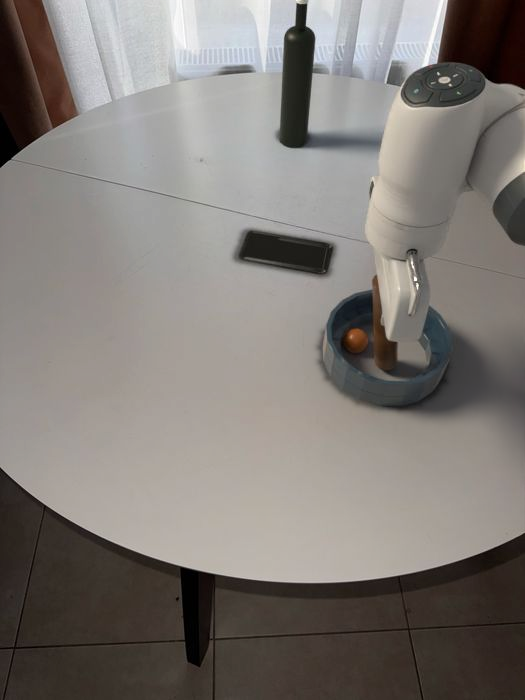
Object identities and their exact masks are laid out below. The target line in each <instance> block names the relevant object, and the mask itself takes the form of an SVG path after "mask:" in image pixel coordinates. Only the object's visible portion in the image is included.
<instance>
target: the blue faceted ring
mask: <svg viewBox="0 0 525 700" xmlns="http://www.w3.org/2000/svg"><path fill="white" fill-rule="evenodd" d="M368 324H373V294H372V289H367V290H362V291H359V292H354V293H353V294H351V295H348V296H347V297H345V298H343V299H341V300H340V301H339V302H338V304H336V306H335V307H334V308H333V309H332V310H331V311H330V313H329V317H328V319H327V321H326V323H325V330H324V335H323V336H324V337H323V342H322V360H323V364H324V367H325V368H326V371H327V372H328V374H329V377H330V378H331V379H332V380H333V381H334V382H335V383H336V384H337V386H338V387H340V388H341V390H342V391H344V392H345V393H347V394H349V395H350V396H352V397H354V398H356V399H358V400H359V401H362V402H365V403H369V404H373V405H376V406H381V407H401V406H405V405H409V404H413V403H417V402H419V401H421V400H423V399H424V398H425V397H427V396H429V395H430V394H431V393H433V391H434V390H435V389H436V387H437V386H438V385H439V383H440V382H441V379H442V378H443V375H444V373H445V371H446V368H447V367H448V364H449V362H450V360H451V356H452V351H453V343H454V342H453V338H452V334H451V331H450V327H449V325H448V324H447V322H446V320H444V318H443V316H442V315H441V314H440V313H439V312H438V311H437V310H436V309H434V308H433V307H432V306H431V305H430V304H429V307H428V312H427V316H426V320H425V323H424V327H423V331H422V334H421V337H420V339H419V340H417V341H418V342H419V344H420V346H421V347H422V349H423V350H424V353H425V359H426V367H425V368H424V370H423V371H422V372H421V373H420V374H418V375H416V376H415V377H413V378H412V379H408V380H386V379H382V378H379V377H375V376H372V375H368V374H366V373H364V372H362V371H361V370H359V369H358V368H355V367H354V366H353V365H351V364H350V363H349V362H348V361H347V360H346V357H345V355H344V353H343V351H342V345H341V344H342V343H341V342H342V341H343V339H344V335H345V334H346V333H347V332H348V331H349V330H351V329H355V328H357V327H360V326H363V325H368Z"/></svg>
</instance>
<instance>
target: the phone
mask: <svg viewBox="0 0 525 700" xmlns="http://www.w3.org/2000/svg"><path fill="white" fill-rule="evenodd" d="M332 249H333V247H332V245H331V244H330V243H328V242H325V241H318V240H312V239H307V238H302V237H301V238H300V237H295V236H290V235H284V234H279V233H278V234H277V233H273V232H266V231H261V230H255V229H254V230H253V229H251V230H248V231H246V234H245V236H244V239H243V241H242V244H241V247H240V249H239V252H238V254H237V255H238V256H237V257H238V259H239V260H240V261H243V262H247V263H252V264H259V265H264V266H271V267H275V268H282V269H287V270H293V271H297V272H303V273H308V274H315V275H323V274H325V273H326V272H327V270H328V265H329V262H330V259H331V258H330V257H331V254H332Z"/></svg>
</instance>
